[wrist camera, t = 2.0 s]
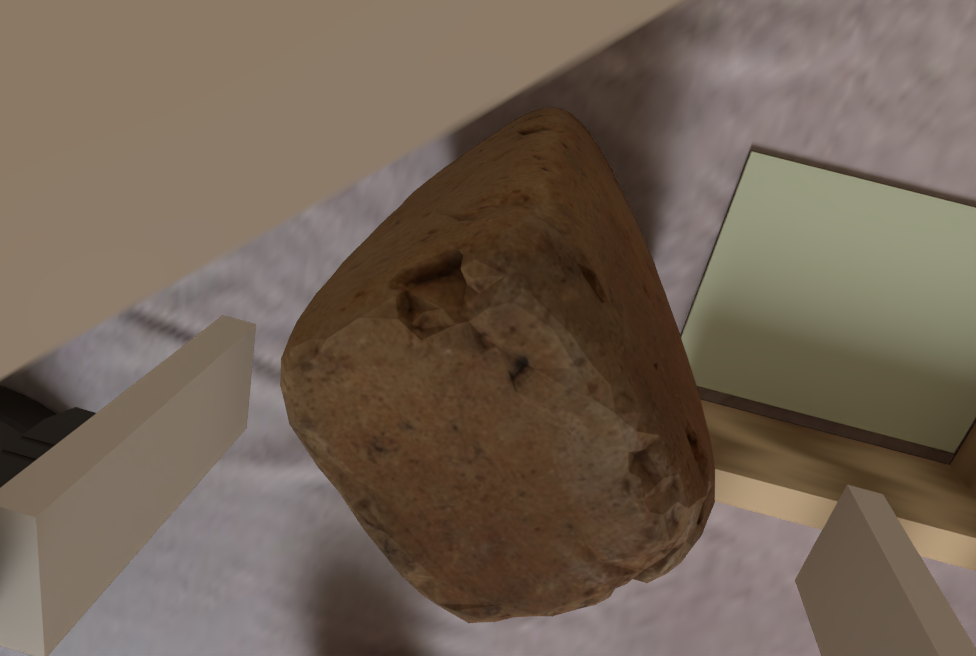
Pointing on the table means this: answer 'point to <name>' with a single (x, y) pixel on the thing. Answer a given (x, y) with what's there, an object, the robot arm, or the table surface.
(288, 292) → the table surface
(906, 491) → the wooden l-shaped piece
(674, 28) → the table surface
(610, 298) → the brown sandstone rock
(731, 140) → the table surface
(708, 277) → the pad
